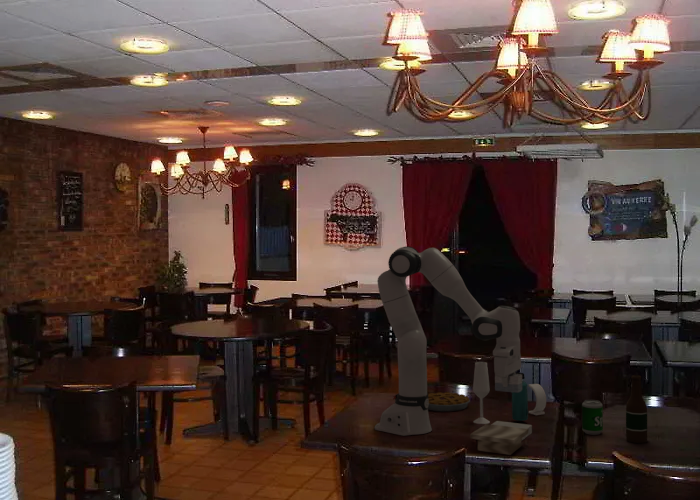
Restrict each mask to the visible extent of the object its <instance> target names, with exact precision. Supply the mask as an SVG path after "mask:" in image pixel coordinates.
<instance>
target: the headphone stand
mask: <svg viewBox="0 0 700 500" xmlns="http://www.w3.org/2000/svg"><path fill="white" fill-rule="evenodd" d="M527 388H529V389H531V390H532V391H533V393H534V395H535V400H536V401H535V402H536V403H535V406H534V409H533V410H528V414H530V415H534V416H540V415H541V416H543V415H546V414H545V411H544V410H545V408H546V406H547V395H546V391H545V390H544V388H543V387H542V385H540V384H539V383H531V384H527Z"/></svg>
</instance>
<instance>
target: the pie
mask: <svg viewBox="0 0 700 500" xmlns="http://www.w3.org/2000/svg"><path fill="white" fill-rule="evenodd" d="M427 394H428V400H429V405H428V411H429V410H430V411H433V412H457V411H461V410H465V409H467V408H468V406H469V405H468V404H470V403H471V399H470V397H469V396H468V395H465V394H463V393H461V394H459V393H458V392H454V393H453V392H449V391H445V392H441V391H437V392H436V393H433V392H429V393H427Z"/></svg>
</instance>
